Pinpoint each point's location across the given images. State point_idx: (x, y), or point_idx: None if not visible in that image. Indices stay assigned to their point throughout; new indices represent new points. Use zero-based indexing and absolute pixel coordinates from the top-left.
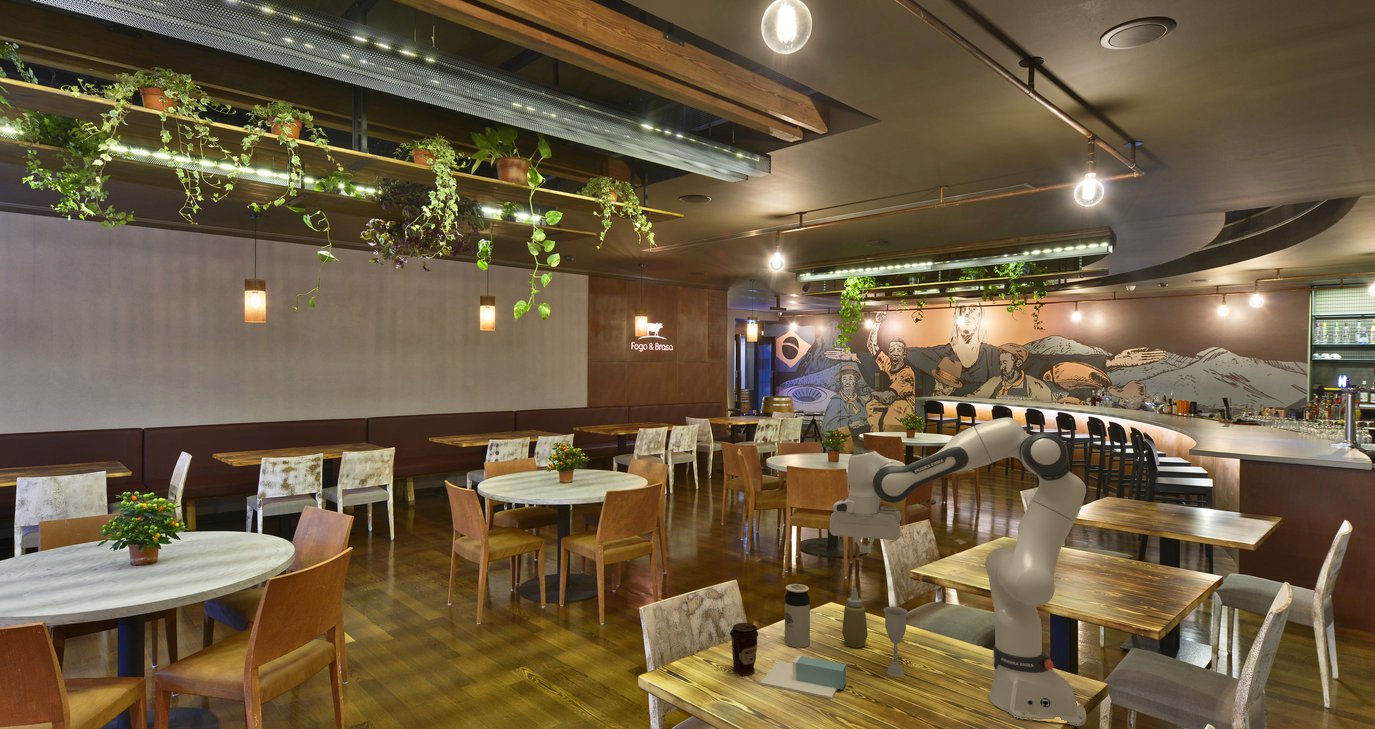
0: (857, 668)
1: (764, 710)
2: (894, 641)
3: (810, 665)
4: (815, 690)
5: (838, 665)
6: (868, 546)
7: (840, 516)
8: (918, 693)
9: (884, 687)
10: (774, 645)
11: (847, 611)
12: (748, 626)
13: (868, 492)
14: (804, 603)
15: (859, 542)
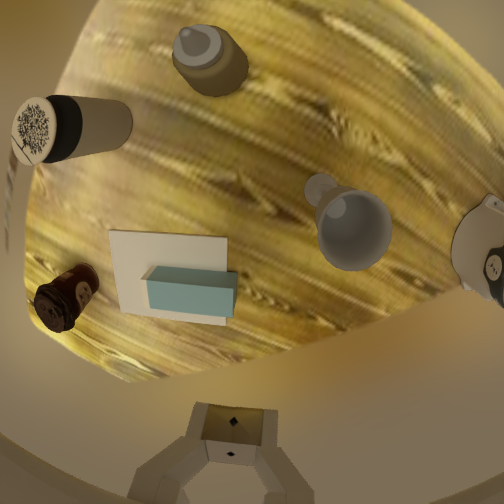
0: (245, 195)
1: (158, 365)
2: (333, 222)
3: (174, 311)
4: (197, 314)
5: (220, 298)
6: (262, 474)
7: None
8: None
9: (302, 259)
10: (80, 157)
11: (185, 77)
12: (50, 308)
13: None
14: (72, 147)
15: (183, 483)
